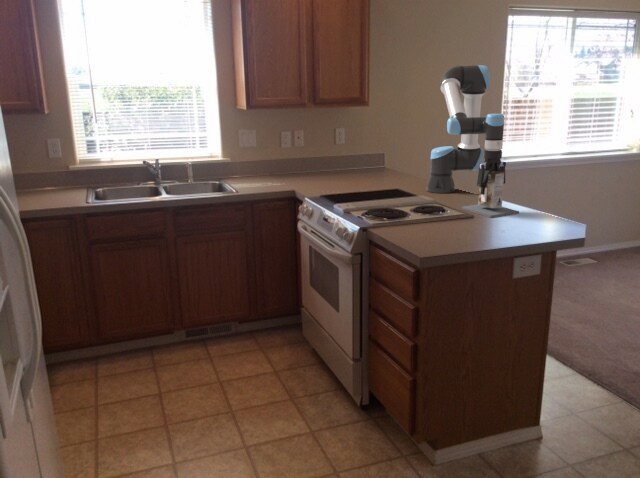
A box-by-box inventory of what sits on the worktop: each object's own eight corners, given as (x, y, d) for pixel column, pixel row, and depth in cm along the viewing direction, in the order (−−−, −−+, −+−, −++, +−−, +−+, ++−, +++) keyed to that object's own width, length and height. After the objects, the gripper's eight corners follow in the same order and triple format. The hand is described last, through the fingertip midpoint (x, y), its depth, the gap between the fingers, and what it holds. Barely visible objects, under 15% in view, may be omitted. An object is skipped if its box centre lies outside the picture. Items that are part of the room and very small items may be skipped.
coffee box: (477, 204, 257) (479, 170, 253) (487, 203, 260) (489, 168, 256) (492, 208, 250) (495, 172, 245) (502, 206, 253) (505, 171, 248)
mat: (461, 208, 261) (461, 206, 261) (488, 204, 268) (488, 202, 267) (490, 217, 244) (490, 215, 244) (518, 213, 250) (519, 211, 250)
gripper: (481, 152, 241) (478, 204, 247) (516, 148, 248) (512, 199, 255) (469, 150, 248) (467, 201, 254) (504, 147, 255) (501, 196, 262)
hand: (490, 200), depth 254 cm, fingers closed on coffee box, 7 cm apart
